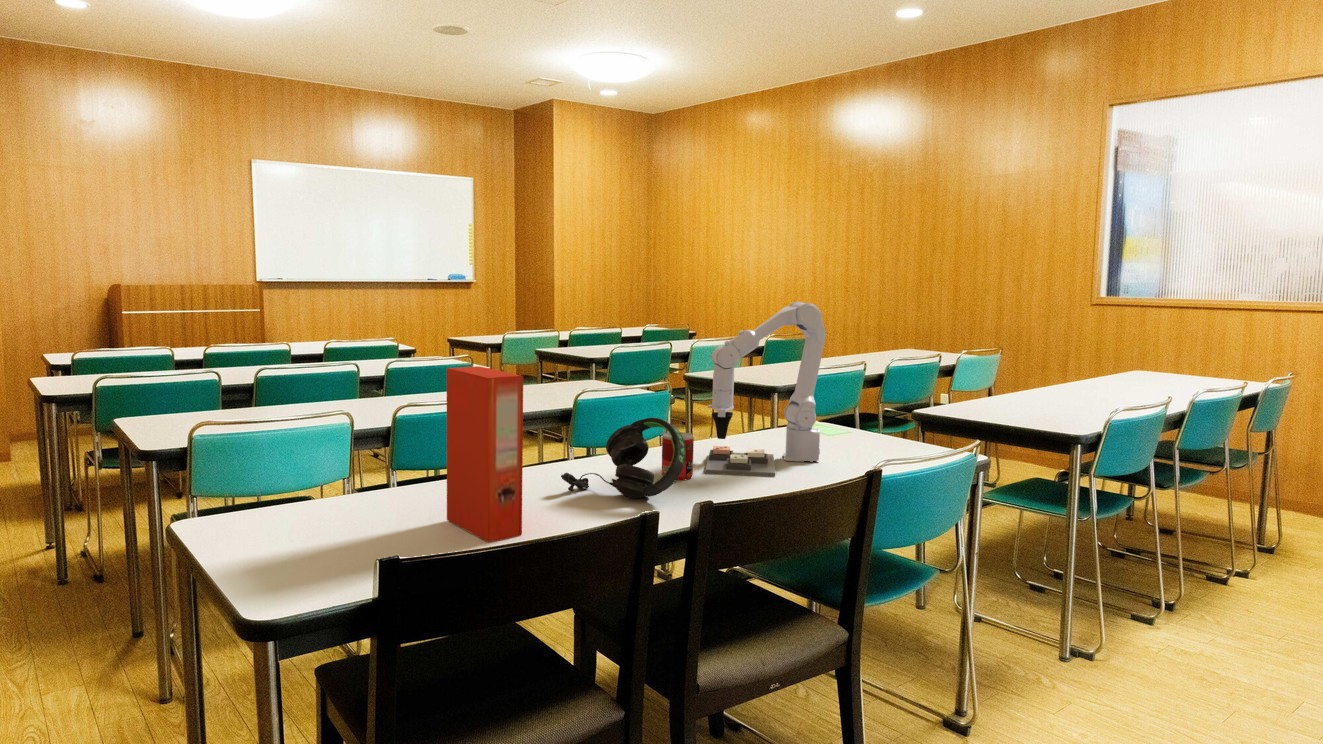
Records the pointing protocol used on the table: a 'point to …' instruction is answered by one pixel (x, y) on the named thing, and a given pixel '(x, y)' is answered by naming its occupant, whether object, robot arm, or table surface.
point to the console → (741, 465)
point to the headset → (637, 460)
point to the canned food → (669, 451)
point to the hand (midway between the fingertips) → (721, 438)
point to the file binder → (485, 452)
